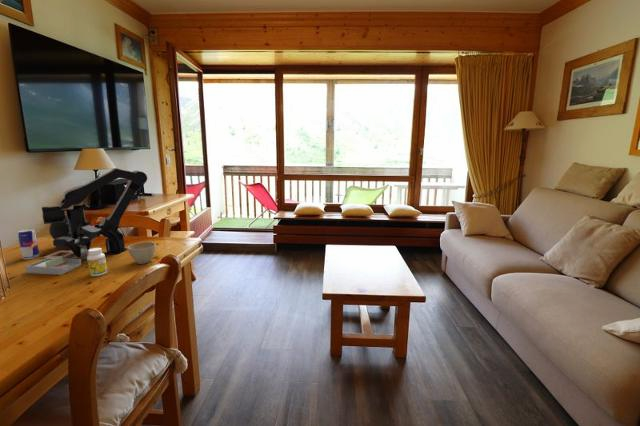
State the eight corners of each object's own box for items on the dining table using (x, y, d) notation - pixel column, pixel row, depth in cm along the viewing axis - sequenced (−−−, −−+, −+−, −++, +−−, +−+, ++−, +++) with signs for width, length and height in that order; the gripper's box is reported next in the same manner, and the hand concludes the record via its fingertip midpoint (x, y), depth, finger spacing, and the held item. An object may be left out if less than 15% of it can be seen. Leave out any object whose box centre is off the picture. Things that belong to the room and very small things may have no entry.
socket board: (78, 256, 132) (77, 251, 131) (61, 263, 124) (60, 258, 123) (61, 256, 132) (60, 250, 132) (43, 263, 125) (42, 257, 124)
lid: (65, 262, 122) (64, 256, 121) (48, 269, 115) (47, 262, 115) (49, 261, 123) (48, 255, 122) (32, 268, 116) (30, 261, 115)
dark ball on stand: (76, 240, 153) (71, 211, 150) (95, 243, 149) (90, 213, 145) (45, 249, 141) (39, 217, 138) (65, 252, 137) (59, 220, 133)
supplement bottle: (110, 271, 117) (107, 247, 115) (97, 277, 112) (93, 252, 110) (100, 269, 119) (96, 246, 116) (86, 275, 114) (82, 250, 111)
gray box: (81, 265, 123) (80, 259, 122) (60, 274, 114) (59, 268, 113) (49, 263, 124) (48, 257, 124) (26, 273, 115) (24, 266, 115)
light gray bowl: (161, 261, 127) (159, 245, 126) (134, 268, 120) (132, 251, 119) (152, 255, 134) (150, 240, 132) (126, 261, 127) (124, 245, 125)
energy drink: (29, 260, 127) (23, 232, 125) (19, 259, 129) (13, 231, 126) (43, 255, 133) (37, 229, 130) (33, 254, 134) (27, 228, 131)
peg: (90, 256, 132) (88, 244, 131) (83, 259, 129) (81, 247, 127) (82, 256, 132) (80, 244, 131) (75, 259, 129) (73, 246, 128)
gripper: (75, 226, 117) (81, 264, 121) (112, 215, 135) (116, 249, 139) (48, 225, 118) (55, 263, 122) (88, 214, 136) (93, 248, 140)
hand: (82, 255), depth 130 cm, fingers closed on peg, 3 cm apart
